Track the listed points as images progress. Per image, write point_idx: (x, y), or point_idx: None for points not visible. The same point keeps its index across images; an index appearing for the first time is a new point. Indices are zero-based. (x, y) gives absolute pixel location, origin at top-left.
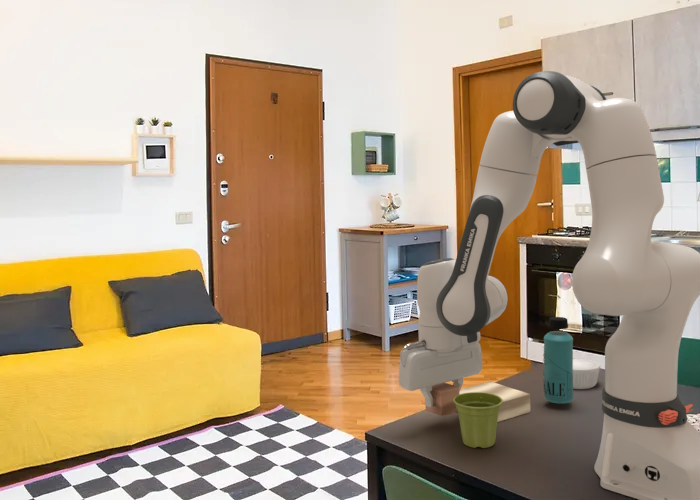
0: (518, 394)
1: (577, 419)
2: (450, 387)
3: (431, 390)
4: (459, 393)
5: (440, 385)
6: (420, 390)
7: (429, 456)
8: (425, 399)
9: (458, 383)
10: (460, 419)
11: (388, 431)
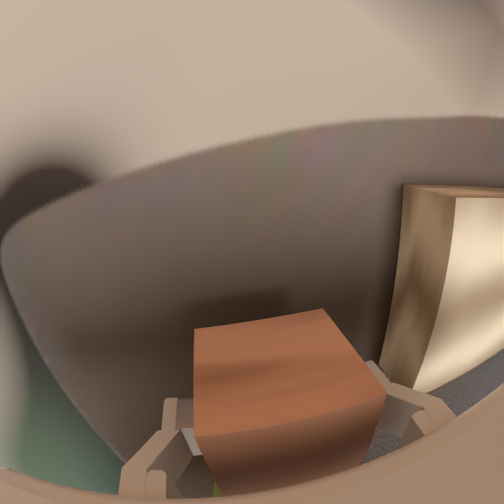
0: (502, 339)
1: (474, 378)
2: (323, 475)
3: (182, 498)
4: (456, 244)
5: (313, 446)
6: (124, 468)
7: (108, 440)
8: (163, 422)
9: (396, 448)
10: (213, 496)
11: (40, 264)
